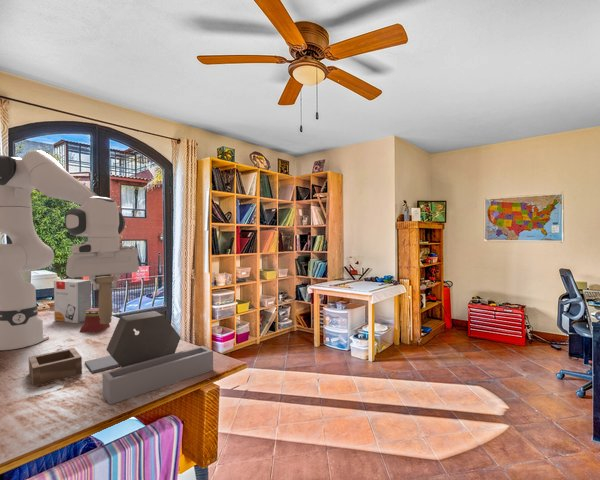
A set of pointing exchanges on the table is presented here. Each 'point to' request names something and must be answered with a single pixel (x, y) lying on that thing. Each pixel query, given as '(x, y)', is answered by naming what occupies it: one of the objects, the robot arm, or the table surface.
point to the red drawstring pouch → (93, 322)
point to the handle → (105, 299)
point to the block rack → (155, 373)
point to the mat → (101, 364)
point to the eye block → (54, 366)
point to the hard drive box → (71, 300)
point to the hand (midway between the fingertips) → (105, 288)
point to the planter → (142, 338)
